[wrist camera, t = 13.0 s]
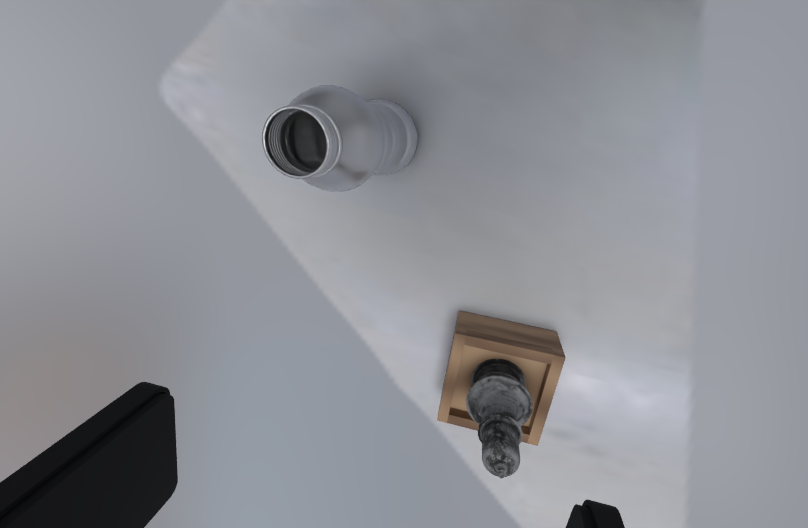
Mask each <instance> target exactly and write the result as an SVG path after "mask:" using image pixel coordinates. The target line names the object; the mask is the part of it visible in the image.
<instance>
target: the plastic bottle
mask: <svg viewBox="0 0 808 528" xmlns="http://www.w3.org/2000/svg"><path fill="white" fill-rule="evenodd" d="M262 142H263V148H264V151H265V154H266V156H267V158H268V160H269V161H270V163H271V164H272V165H273V166H274V167H275V168H276V169H277V170H278V171H279V172H281V173H282V174H284V175H286V176H288V177H291V178H296V179H302V180H304V181H305V182H307V183H308V184H310V185H313V186H315V187H317V188H320V189H322V190H327V191H331V192H342V191H347V190H351V189H353V188H356V187H358V186H360V185H361V184H363V183H364V182H366V181H367V180H368V179H370V178H371V177H372V175H373V174H375V175H389V174H394V173H396V172H398V171H400V170H402V169H403V168H404V167H406V166H407V164H408V163H409V162H410V161H411V159H412V158H413V156H414V153H415V151H416V146H417V132H416V127H415V125H414V123H413V120H412V119H411V117H410V116H409V114H408V113H407V112H406V111H405V110H404V109H403V108H402V107H400V106H399V105H397V104H396V103H393V102H391V101H388V100H382V99H380V100H371V101H366V100H365V99H363V98H362V97H360V96H359V95H357V94H356V93H354V92H352V91H350V90H347V89H345V88H342V87H338V86H333V85H324V86H318V87H314V88H311V89H309V90H307V91H305V92H303V93H302V94H300V95H299V96H297V97H296V98H295V99H294V100H293V101H292V102H291V103H290V104H289V106H285V107H282V108H280V109H278V110H276V111H275V112H273V113H272V114H271V115H270V116H269V118H268V119H267V121H266V123H265V125H264V128H263V133H262Z"/></svg>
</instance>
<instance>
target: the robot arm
mask: <svg viewBox="0 0 808 528" xmlns="http://www.w3.org/2000/svg"><path fill="white" fill-rule="evenodd" d="M175 432H176V431H175V410H174V398H173V397H172V396H171V395H170V392H169V390H168V388H166V387H162V386H158V385H155V384H151V383H147V382H141V383H139V384H137V385H135V386H134V387H133V388H131V389H130V390H129V391H127V392H126V393H125V394H123V395H122V396H120V397H119V398H117V399H116V400H115V401H113V402H112V403H110V404H109V405H108V406H106V407H105V408H103V409H102V410H101V411H99V412H98V413H97V414H95V415H94V416H92V417H91V418H90V419H88V420H87V421H86V422H84V423H83V424H81V425H80V426H78V427H77V428H76V429H74V430H73V431H71V432H70V433H69V434H67V435H66V436H65V437H63V438H62V439H60V440H59V441H58V442H56V443H55V444H53V445H52V446H51V447H49V448H48V449H46V450H45V451H44V452H42V453H41V454H39V455H38V456H37V457H35V458H34V459H33V460H31V461H30V462H28V463H27V464H26V465H24V466H23V467H21V468H20V469H19V470H17V471H16V472H15V473H13V474H12V475H10V476H9V477H7V478H6V479H5V480H3V481H2V482H1V483H0V528H144V527H145V526H146V525H147V524H148V522H149V521H150V520H151V519H152V518H153V517H154V516H155V514H156V513H157V512H158V511H159V510H160V509H161V508H162V506H163V505H164V504H165V503H166V501H168V499H169V498H170V497H171V496H172V494H173V492H174V490H175V488H176V485H177V478H178V477H177V455H176V433H175ZM566 528H625V527H624V524H623V521H622V518H621V515H620V513H619V511H618V509H617V508H616V507H614V506H610V505H606V504H602V503H599V502H595V501H591V500H585V501H584V503H583V505H582V506H581V505H577V504H576V505H575V506H574V507H573V510H572V512H571V515H570V518H569V520H568V523H567V526H566Z"/></svg>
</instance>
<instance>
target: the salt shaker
mask: <svg viewBox="0 0 808 528" xmlns="http://www.w3.org/2000/svg"><path fill="white" fill-rule="evenodd" d="M466 407H467V410H468V413H469V415H470V416H471V418H472V419H473V420H474V421H475V422H476V423H477V424H478V425H479V427H478V436H479V439H480V441H481V442H482V460H483V464H484V466H485V468H486V469H487V470H488V471H489V472H490V473H492V474H493V475H495V476H498V477H500V478H504V477H507V476H510V475H512V474H513V473H514V472H516V470H517V469H518V467H519V464H520V453H519V444H520V443H521V440H522V429H521V426H522V425H524V424H525V423H526V422H527V421H528V419H529V418H530V416H531V413H532V411H533V402H532V398H531V395H530V393H529V392H528V390H527V389H526V379H525V376H524V373H523V372H522V370H521V369H520V368H519V367H518V366H517V365H516V364H514V363H512V362H510V361H508V360H504V359H489V360H486V361H484V362H482V363H480V364H479V365H478V366H477V367H476V368H475V369H474V371H473V372H472V376H471V388H470V389H469V391H468V394H467V397H466Z"/></svg>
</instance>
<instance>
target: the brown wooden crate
mask: <svg viewBox="0 0 808 528" xmlns="http://www.w3.org/2000/svg"><path fill="white" fill-rule="evenodd" d="M489 359H504V360H508V361H510V362H512V363H514V364H516V365H517V366H518V367H519V368H520V369H521V370H522V372H523V373H524V376H525V379H526V389H527V390H528V392H529V393H530V395H531V398H532V402H533V411H532V413H531V416H530V418H529V419H528V421H527V422H526V423H525V424H524V425H522V426H521V429H522V440H521V442H525V443H529V444H533V445H537V446H538V443H539V440H540V437H541V434H542V430H543V427H544V424H545V421H546V418H547V415H548V411H549V408H550V405H551V402H552V399H553V395H554V392H555V389H556V386H557V383H558V380H559V376H560V373H561V370H562V367H563V364H564V361H565V355H564V352H563V349H562V346H561V343H560V340H559V337H558V334H557V332H556V331H552V330H547V329H542V328H538V327H533V326H528V325H524V324H519V323H515V322H510V321H505V320H501V319H496V318H491V317H487V316H482V315H477V314H473V313H468V312H463V311H459V314H458V318H457V323H456V328H455V333H454V338H453V342H452V347H451V352H450V357H449V362H448V366H447V371H446V376H445V381H444V385H443V390H442V396H441V401H440V407H439V412H438V418H437V420H438V421H442V422H446V423H450V424H454V425H458V426H462V427H466V428H469V429H473V430H477V431H478V427H479V425H478V424H477V423H476V422H475V421H474V420H473V419H472V418H471V416H470V415H469V413H468V410H467V407H466V397H467V394H468V391H469V389H470V388H471V376H472V372H473V371H474V369H475V368H476V367H477V366H478V365H479V364H480V363H482V362H484V361H486V360H489Z"/></svg>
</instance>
